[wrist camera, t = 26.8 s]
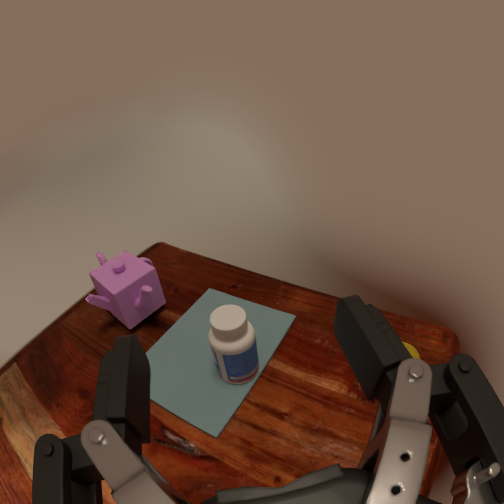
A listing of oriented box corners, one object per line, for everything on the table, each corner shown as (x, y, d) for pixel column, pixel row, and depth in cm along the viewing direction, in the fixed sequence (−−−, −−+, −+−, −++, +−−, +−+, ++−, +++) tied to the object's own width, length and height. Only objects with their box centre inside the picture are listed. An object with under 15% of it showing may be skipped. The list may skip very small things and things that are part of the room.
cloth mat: (295, 317, 44) (296, 315, 44) (216, 438, 28) (216, 437, 28) (209, 289, 51) (209, 288, 51) (122, 379, 35) (121, 377, 35)
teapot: (82, 309, 48) (61, 267, 42) (134, 274, 56) (120, 232, 51) (131, 361, 38) (105, 313, 33) (193, 312, 46) (181, 262, 41)
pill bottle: (266, 361, 37) (263, 309, 32) (245, 391, 33) (236, 343, 28) (232, 346, 39) (222, 294, 34) (209, 374, 36) (193, 323, 30)
